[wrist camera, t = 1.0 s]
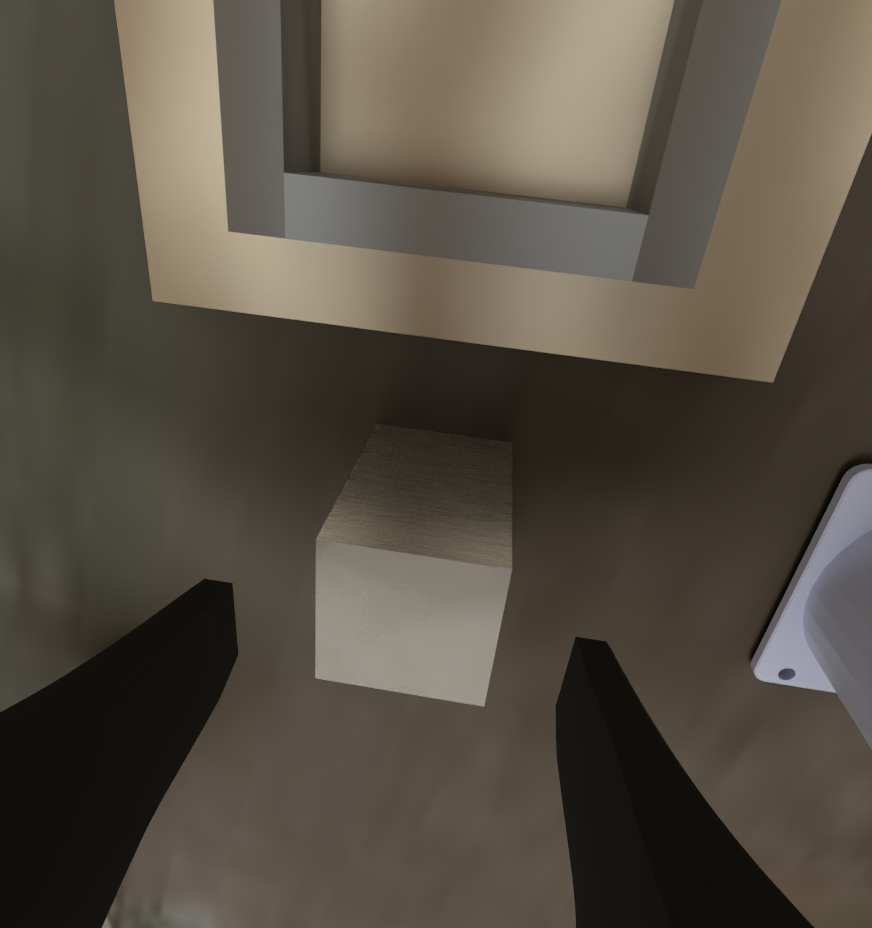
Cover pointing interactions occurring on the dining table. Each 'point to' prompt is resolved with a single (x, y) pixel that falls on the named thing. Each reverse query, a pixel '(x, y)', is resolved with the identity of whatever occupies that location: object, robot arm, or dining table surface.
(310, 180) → the socket base
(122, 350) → the dining table surface
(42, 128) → the dining table surface
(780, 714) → the dining table surface
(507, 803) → the dining table surface
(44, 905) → the robot arm
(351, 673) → the peg
